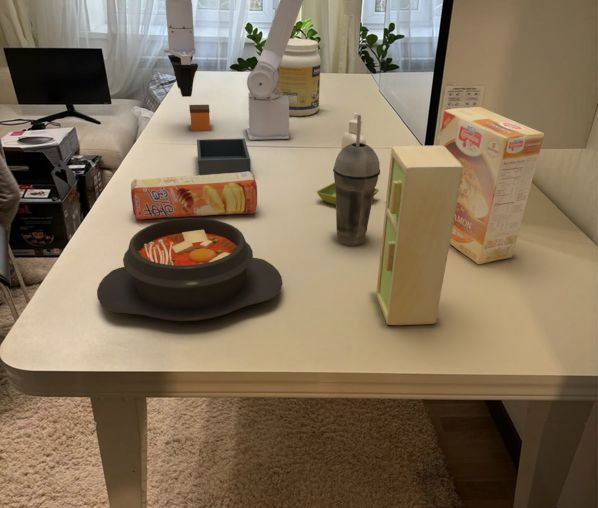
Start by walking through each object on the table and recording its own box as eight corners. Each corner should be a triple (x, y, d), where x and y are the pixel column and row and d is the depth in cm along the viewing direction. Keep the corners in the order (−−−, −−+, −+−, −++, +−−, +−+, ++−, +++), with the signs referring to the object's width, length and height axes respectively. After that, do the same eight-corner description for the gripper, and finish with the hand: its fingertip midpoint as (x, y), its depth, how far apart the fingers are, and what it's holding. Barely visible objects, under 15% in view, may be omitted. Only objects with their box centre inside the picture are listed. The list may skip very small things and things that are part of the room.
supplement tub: (319, 117, 157) (322, 46, 147) (273, 116, 157) (272, 44, 147) (318, 105, 167) (321, 38, 157) (275, 104, 166) (275, 36, 156)
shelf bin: (245, 156, 130) (244, 138, 128) (250, 178, 120) (250, 158, 117) (198, 158, 129) (196, 139, 127) (199, 180, 118) (197, 160, 116)
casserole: (94, 342, 73) (81, 282, 68) (104, 270, 88) (93, 216, 83) (293, 324, 78) (294, 267, 73) (271, 258, 92) (270, 206, 87)
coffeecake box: (423, 226, 103) (442, 109, 91) (458, 220, 105) (480, 105, 94) (477, 265, 92) (506, 137, 80) (513, 258, 94) (547, 132, 83)
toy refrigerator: (369, 294, 84) (386, 144, 72) (420, 293, 85) (445, 144, 72) (380, 326, 78) (400, 167, 65) (435, 325, 78) (466, 167, 66)
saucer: (340, 188, 116) (340, 178, 115) (379, 199, 112) (380, 189, 111) (315, 202, 111) (315, 191, 109) (355, 214, 107) (356, 203, 105)
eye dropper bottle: (360, 169, 126) (365, 109, 118) (363, 178, 121) (369, 117, 114) (339, 169, 125) (343, 109, 118) (342, 178, 121) (346, 117, 114)
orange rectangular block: (210, 125, 149) (208, 104, 146) (210, 130, 145) (209, 109, 143) (191, 125, 148) (189, 104, 145) (191, 130, 145) (189, 109, 142)
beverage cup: (377, 234, 100) (391, 109, 88) (367, 252, 95) (380, 122, 83) (335, 227, 102) (343, 104, 90) (323, 244, 96) (330, 116, 85)
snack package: (134, 224, 101) (128, 185, 97) (135, 208, 106) (130, 171, 102) (258, 217, 104) (257, 180, 100) (254, 203, 110) (253, 166, 106)
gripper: (159, 21, 136) (164, 85, 144) (164, 32, 125) (170, 100, 133) (190, 21, 138) (193, 84, 146) (198, 32, 127) (202, 99, 135)
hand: (184, 92), depth 139 cm, fingers open, 7 cm apart
